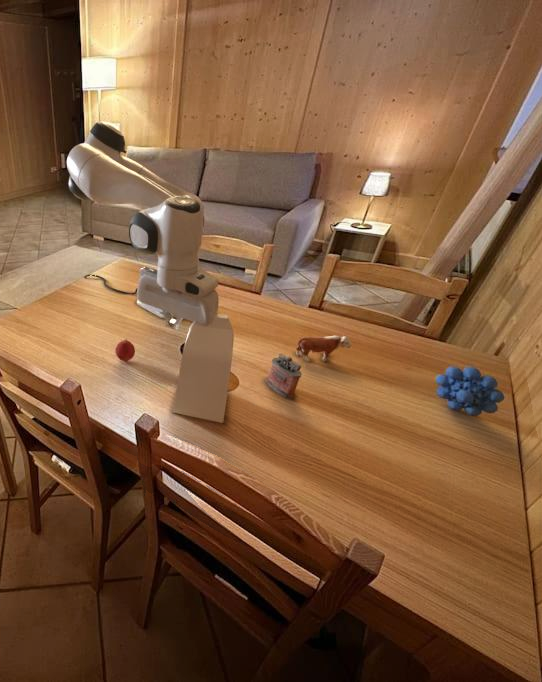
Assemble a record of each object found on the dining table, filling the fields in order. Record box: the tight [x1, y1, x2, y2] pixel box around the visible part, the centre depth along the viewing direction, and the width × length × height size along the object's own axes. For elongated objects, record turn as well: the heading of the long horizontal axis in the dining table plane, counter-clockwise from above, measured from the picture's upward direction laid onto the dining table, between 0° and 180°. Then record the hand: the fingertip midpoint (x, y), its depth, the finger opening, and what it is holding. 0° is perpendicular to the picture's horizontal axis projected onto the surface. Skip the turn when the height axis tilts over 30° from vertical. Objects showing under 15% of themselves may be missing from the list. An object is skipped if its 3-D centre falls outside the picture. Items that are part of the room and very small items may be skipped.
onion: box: [115, 338, 136, 362], centre depth 107 cm, size 6×6×8 cm
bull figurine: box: [295, 334, 353, 362], centre depth 102 cm, size 4×13×8 cm, turn 79°
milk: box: [172, 313, 235, 424], centre depth 85 cm, size 12×12×26 cm
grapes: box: [434, 365, 505, 417], centre depth 82 cm, size 12×7×12 cm, turn 40°
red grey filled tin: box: [265, 353, 303, 399], centre depth 92 cm, size 8×3×10 cm, turn 23°
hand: (172, 327), depth 88 cm, fingers closed
